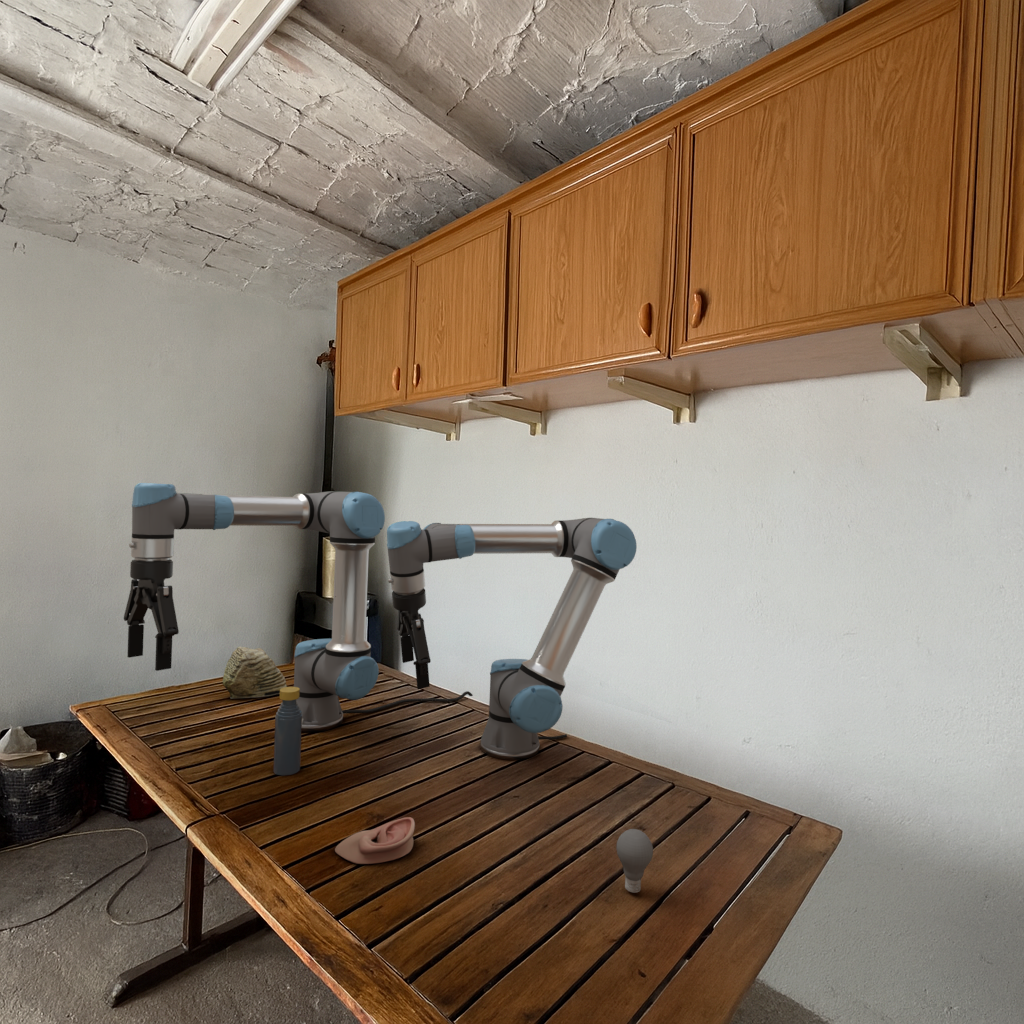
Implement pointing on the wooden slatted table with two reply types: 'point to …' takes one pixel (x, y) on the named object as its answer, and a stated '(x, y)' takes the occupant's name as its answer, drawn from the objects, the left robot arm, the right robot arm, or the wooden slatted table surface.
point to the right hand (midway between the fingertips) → (415, 673)
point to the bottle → (287, 738)
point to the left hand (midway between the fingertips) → (148, 662)
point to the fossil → (252, 674)
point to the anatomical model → (379, 843)
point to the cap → (289, 693)
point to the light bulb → (634, 857)
